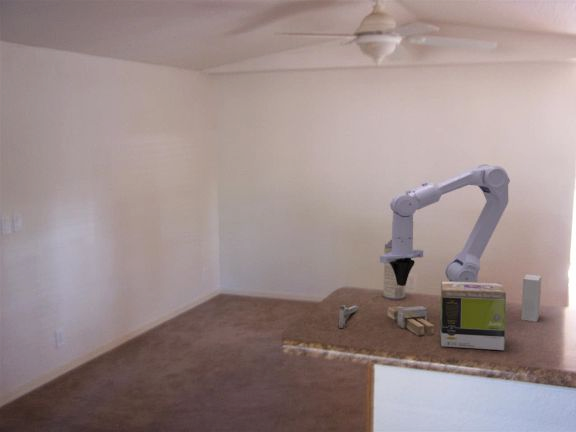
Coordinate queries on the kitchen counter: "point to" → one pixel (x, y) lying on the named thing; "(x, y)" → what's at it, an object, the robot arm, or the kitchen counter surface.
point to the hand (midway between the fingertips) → (401, 285)
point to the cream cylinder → (391, 280)
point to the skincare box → (531, 298)
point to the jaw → (413, 325)
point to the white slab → (411, 314)
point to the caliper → (345, 314)
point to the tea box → (472, 315)
